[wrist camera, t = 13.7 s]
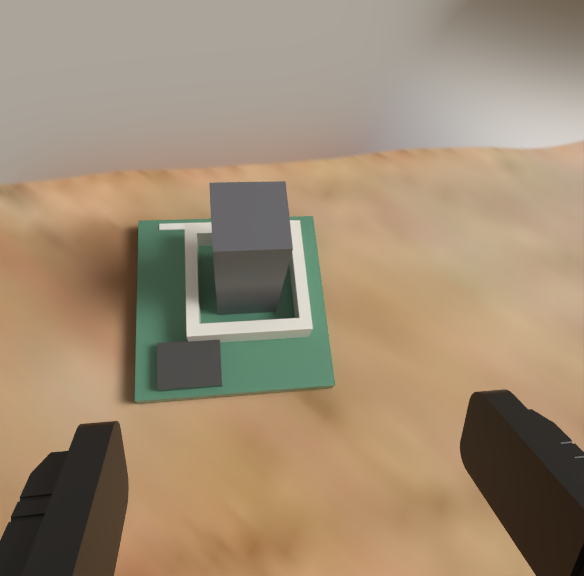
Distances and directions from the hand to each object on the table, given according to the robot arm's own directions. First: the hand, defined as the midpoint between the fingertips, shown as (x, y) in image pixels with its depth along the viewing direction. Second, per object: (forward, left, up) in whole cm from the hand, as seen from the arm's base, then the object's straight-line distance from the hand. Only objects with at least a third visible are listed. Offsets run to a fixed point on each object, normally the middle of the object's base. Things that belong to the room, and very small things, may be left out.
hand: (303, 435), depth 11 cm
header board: (-1, +11, -21) cm, 24 cm away
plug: (0, +12, -20) cm, 23 cm away
